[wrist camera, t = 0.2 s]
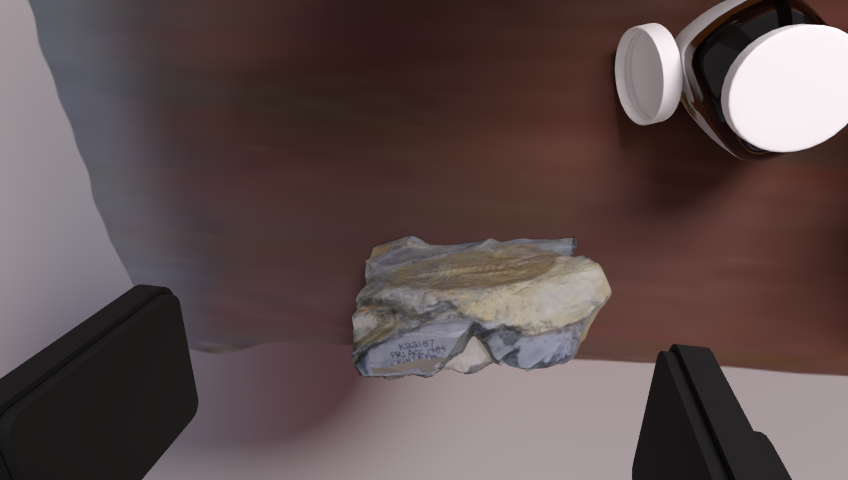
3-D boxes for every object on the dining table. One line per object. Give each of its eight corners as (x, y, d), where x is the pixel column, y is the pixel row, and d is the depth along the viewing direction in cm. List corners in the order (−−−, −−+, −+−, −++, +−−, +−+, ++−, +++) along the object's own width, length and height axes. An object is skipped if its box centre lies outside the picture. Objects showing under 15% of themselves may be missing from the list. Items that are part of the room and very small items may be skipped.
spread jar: (810, 95, 39) (911, 127, 29) (663, 177, 44) (705, 230, 33) (736, -51, 37) (817, -74, 26) (587, 51, 41) (606, 66, 30)
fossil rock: (571, 210, 50) (632, 294, 36) (571, 295, 54) (625, 400, 40) (357, 235, 50) (338, 327, 37) (372, 318, 54) (361, 428, 41)
